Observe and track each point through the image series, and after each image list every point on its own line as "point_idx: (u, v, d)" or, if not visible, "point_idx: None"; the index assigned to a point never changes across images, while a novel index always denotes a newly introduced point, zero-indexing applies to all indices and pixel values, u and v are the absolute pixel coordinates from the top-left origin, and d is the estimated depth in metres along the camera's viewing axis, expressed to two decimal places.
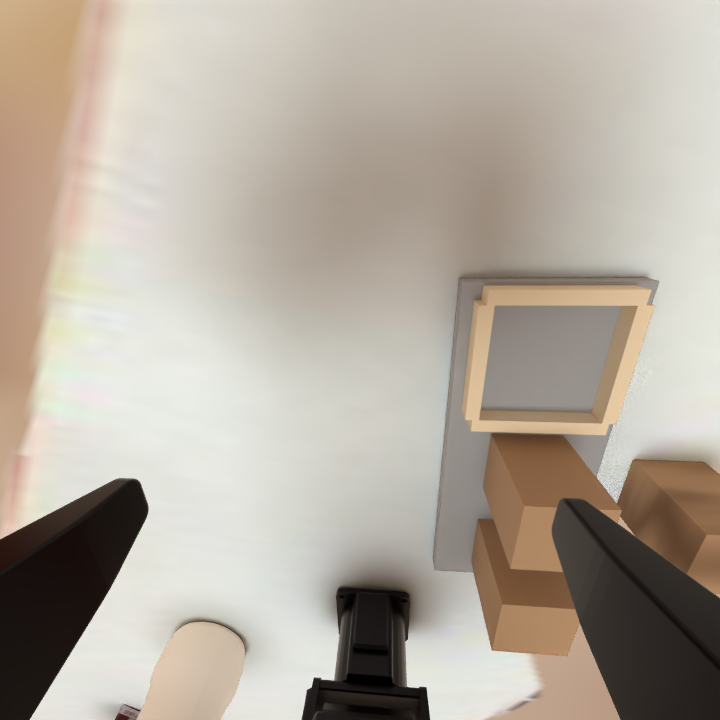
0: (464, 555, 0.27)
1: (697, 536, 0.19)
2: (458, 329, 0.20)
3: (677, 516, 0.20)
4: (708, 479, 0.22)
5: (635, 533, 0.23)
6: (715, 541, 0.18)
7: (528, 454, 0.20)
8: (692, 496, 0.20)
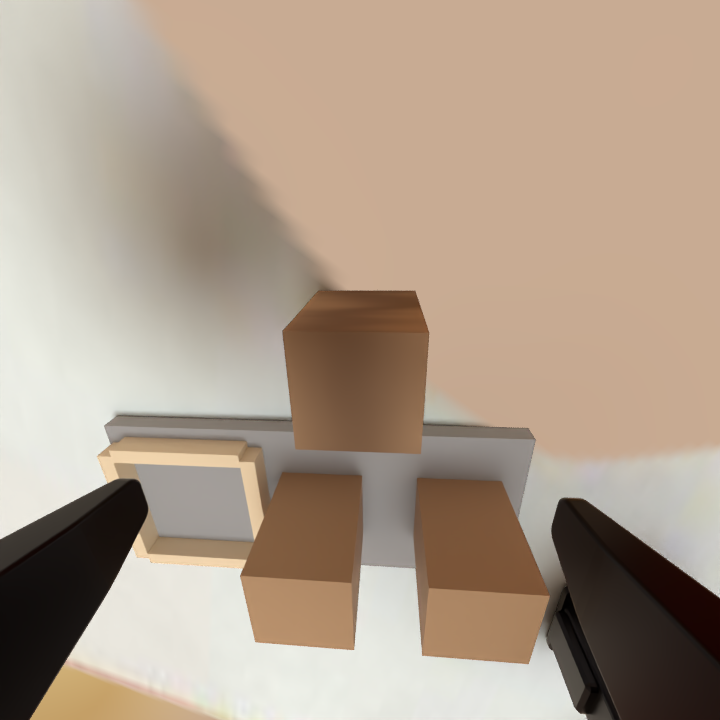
0: None
1: None
2: None
3: None
4: None
5: None
6: (306, 437, 0.12)
7: None
8: None
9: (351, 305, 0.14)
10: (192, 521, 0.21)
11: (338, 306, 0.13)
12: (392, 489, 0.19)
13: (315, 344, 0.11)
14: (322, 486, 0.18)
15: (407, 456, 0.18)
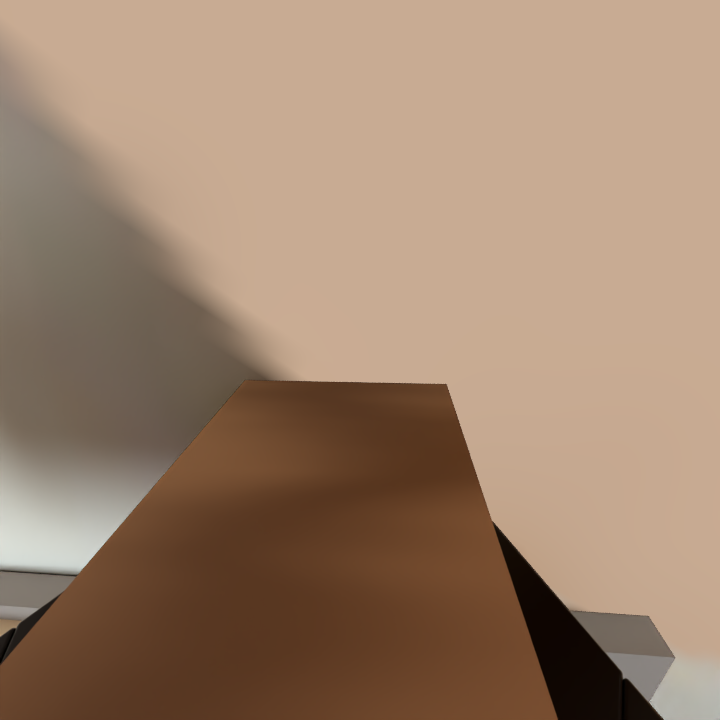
0: None
1: None
2: None
3: None
4: None
5: None
6: None
7: None
8: None
9: (292, 465, 0.05)
10: None
11: (256, 472, 0.05)
12: None
13: None
14: None
15: None
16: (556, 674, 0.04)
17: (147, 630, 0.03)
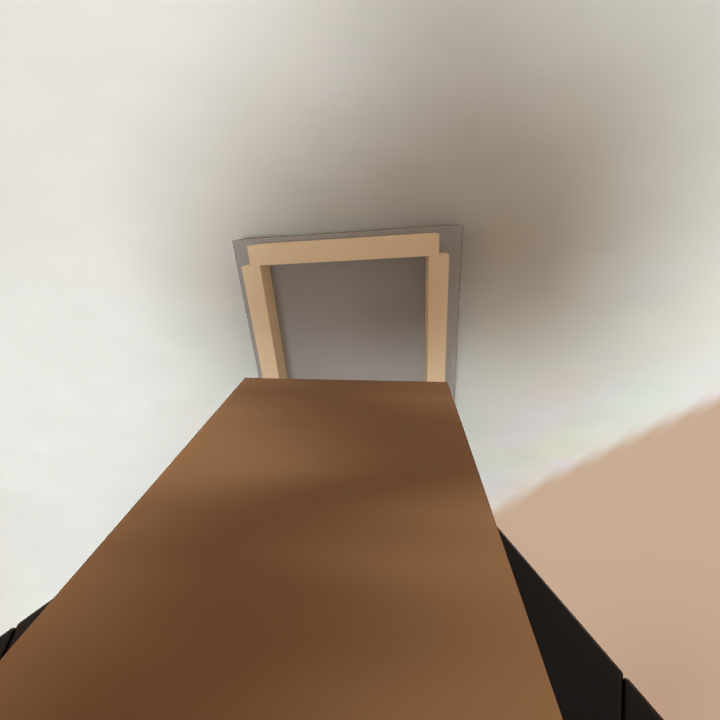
0: None
1: None
2: (245, 300, 0.16)
3: None
4: None
5: None
6: None
7: None
8: None
9: (293, 462, 0.05)
10: (309, 315, 0.16)
11: (257, 468, 0.05)
12: None
13: None
14: None
15: None
16: (556, 674, 0.04)
17: (147, 626, 0.03)
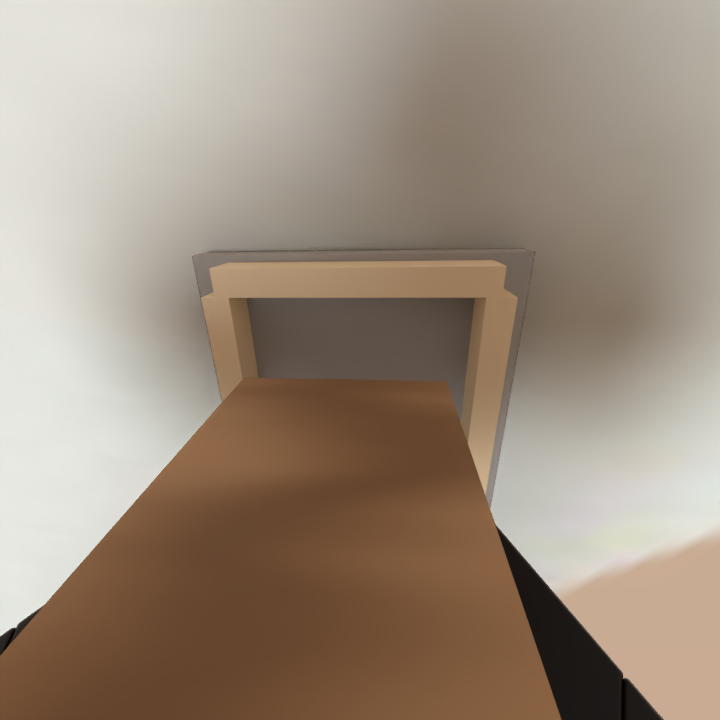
0: None
1: None
2: None
3: None
4: None
5: None
6: None
7: None
8: None
9: (292, 461, 0.05)
10: (301, 365, 0.12)
11: (255, 468, 0.05)
12: None
13: None
14: None
15: None
16: (556, 674, 0.04)
17: (144, 626, 0.03)
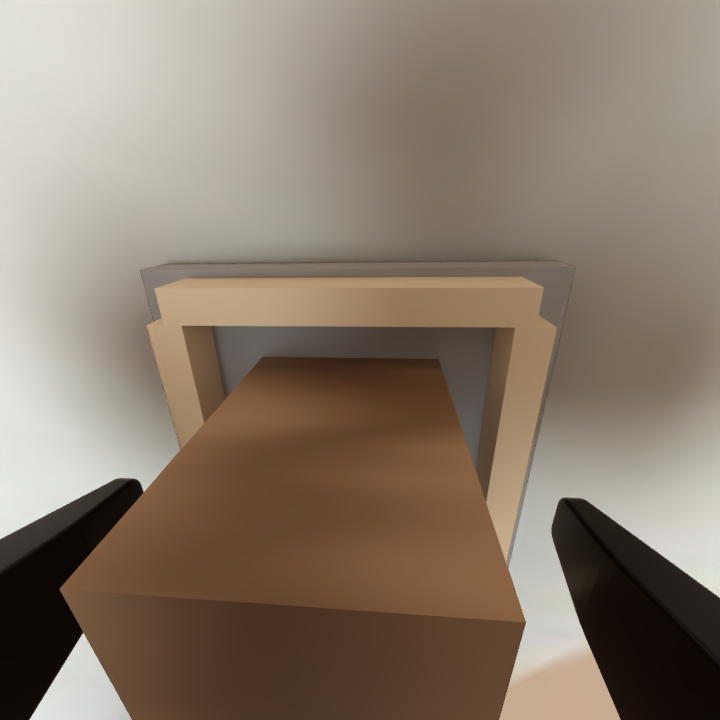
0: None
1: None
2: None
3: None
4: None
5: None
6: None
7: None
8: None
9: (309, 416, 0.06)
10: None
11: (279, 421, 0.06)
12: None
13: (165, 621, 0.04)
14: None
15: None
16: None
17: (209, 515, 0.04)
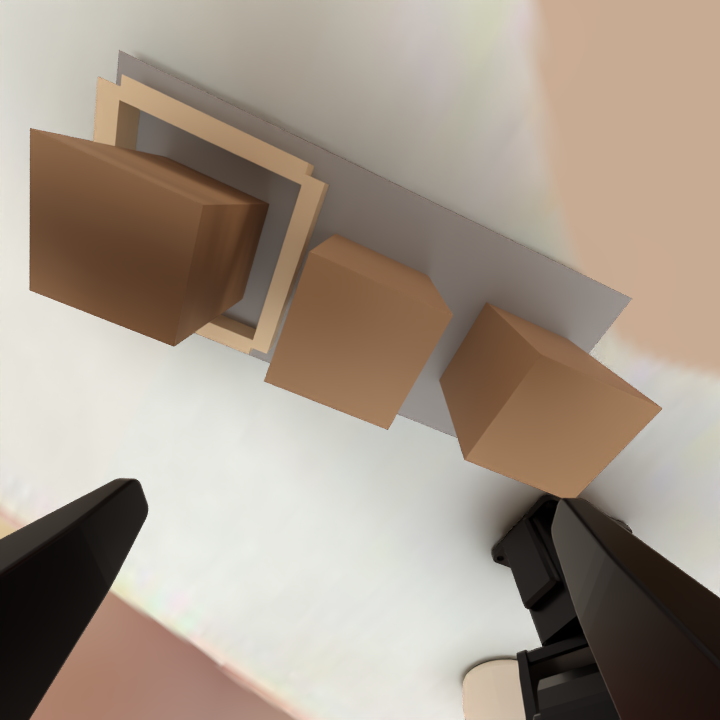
0: None
1: (182, 327, 0.11)
2: None
3: (203, 315, 0.12)
4: None
5: (250, 208, 0.13)
6: (158, 328, 0.11)
7: None
8: None
9: None
10: None
11: None
12: (451, 308, 0.16)
13: (44, 264, 0.10)
14: (387, 259, 0.14)
15: (492, 268, 0.15)
16: None
17: None
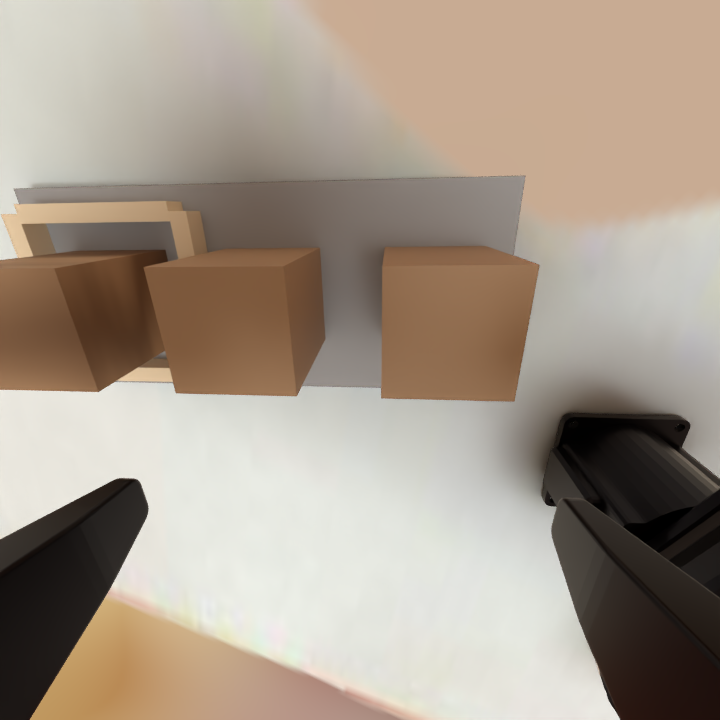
0: None
1: (101, 374, 0.13)
2: (129, 381, 0.20)
3: (126, 359, 0.14)
4: None
5: (134, 259, 0.15)
6: (80, 381, 0.13)
7: None
8: None
9: None
10: None
11: None
12: (356, 267, 0.16)
13: None
14: (270, 250, 0.15)
15: (372, 213, 0.15)
16: None
17: None
